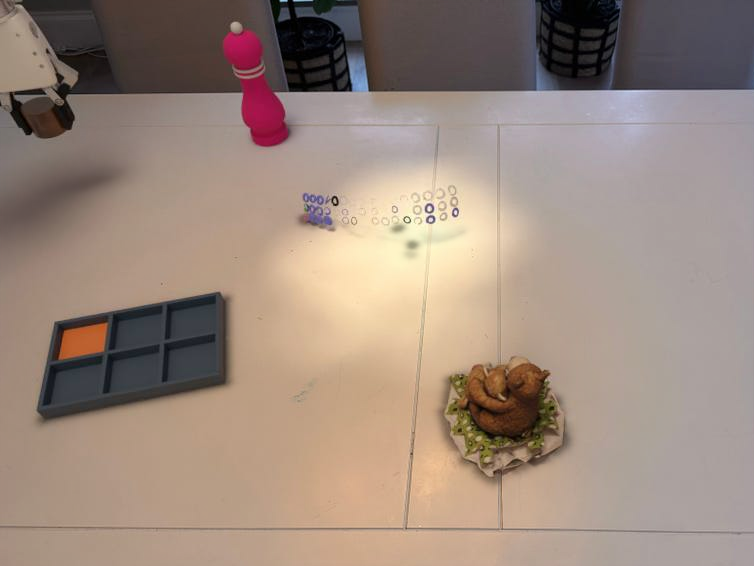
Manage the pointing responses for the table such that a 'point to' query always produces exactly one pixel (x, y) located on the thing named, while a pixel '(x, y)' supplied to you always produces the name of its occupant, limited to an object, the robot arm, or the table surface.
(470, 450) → the bear figurine
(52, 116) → the brown cylinder
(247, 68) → the pepper mill
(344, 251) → the table surface
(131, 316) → the grid
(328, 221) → the ring set
